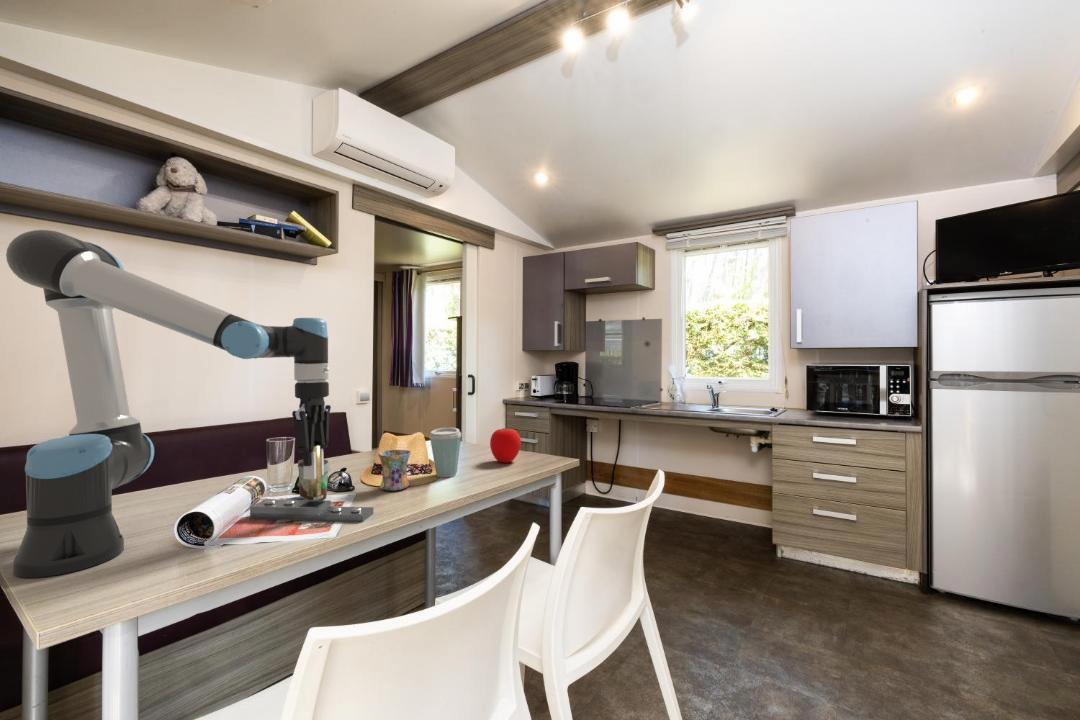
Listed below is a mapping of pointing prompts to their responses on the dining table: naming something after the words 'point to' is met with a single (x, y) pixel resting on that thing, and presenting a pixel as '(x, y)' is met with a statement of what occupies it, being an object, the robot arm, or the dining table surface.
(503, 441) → the red apple
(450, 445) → the disposable coffee cup
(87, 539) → the robot arm
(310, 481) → the pin
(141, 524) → the dining table surface
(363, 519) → the grey studded plate
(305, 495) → the food container
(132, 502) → the dining table surface
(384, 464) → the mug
